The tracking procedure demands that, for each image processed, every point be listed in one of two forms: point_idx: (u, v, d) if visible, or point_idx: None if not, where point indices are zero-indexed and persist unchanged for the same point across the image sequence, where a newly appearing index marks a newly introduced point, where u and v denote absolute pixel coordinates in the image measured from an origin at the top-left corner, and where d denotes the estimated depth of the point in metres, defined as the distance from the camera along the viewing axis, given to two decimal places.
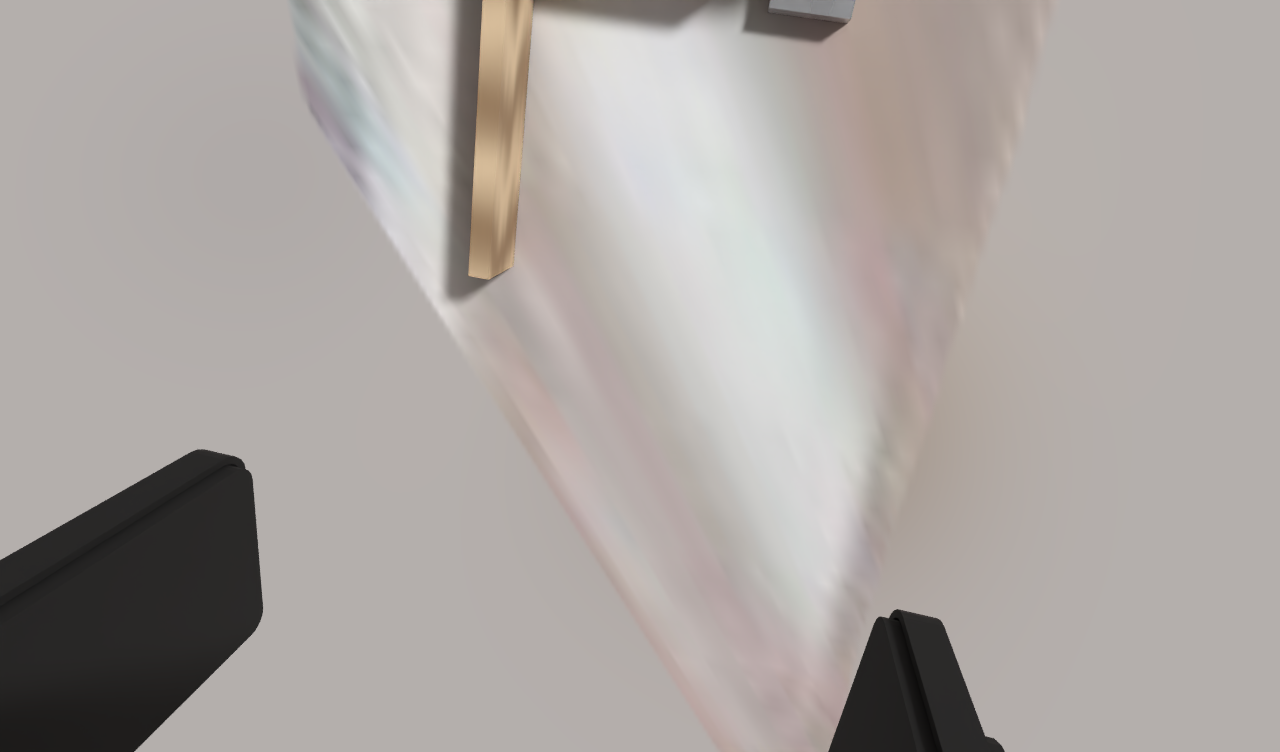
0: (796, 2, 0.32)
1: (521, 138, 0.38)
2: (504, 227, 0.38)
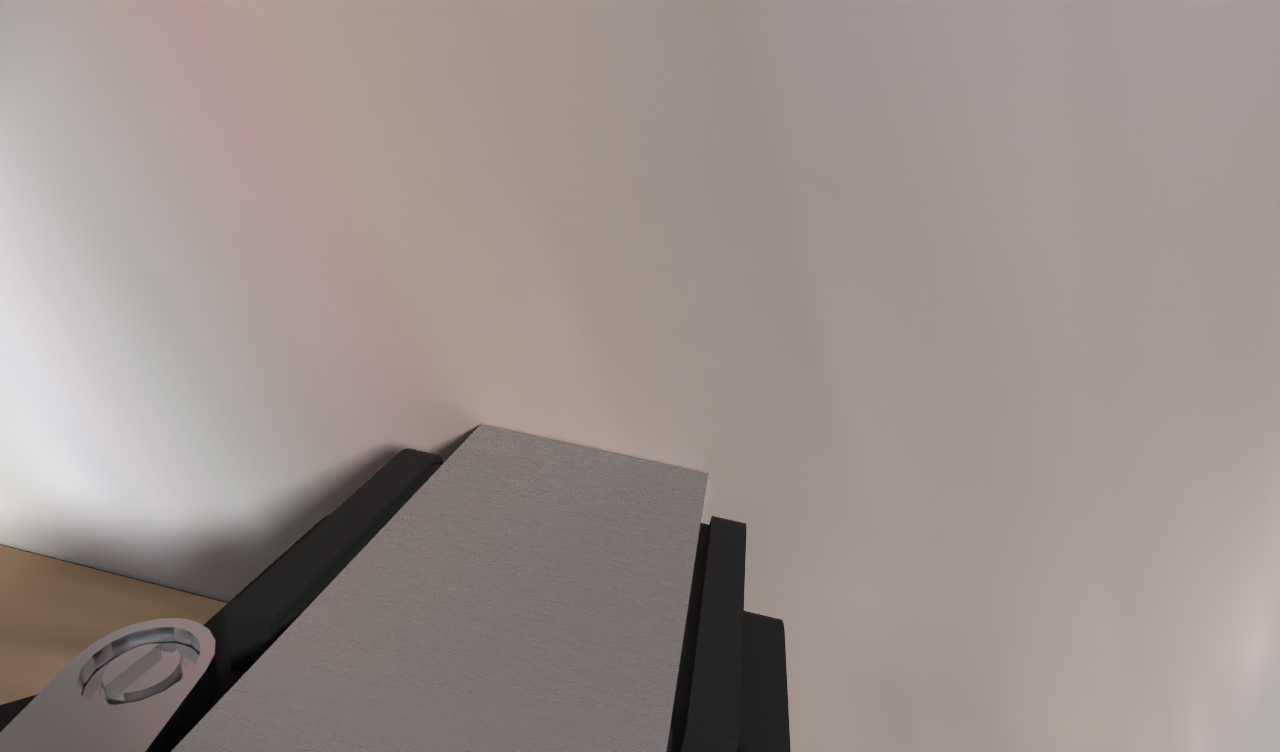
0: None
1: None
2: None
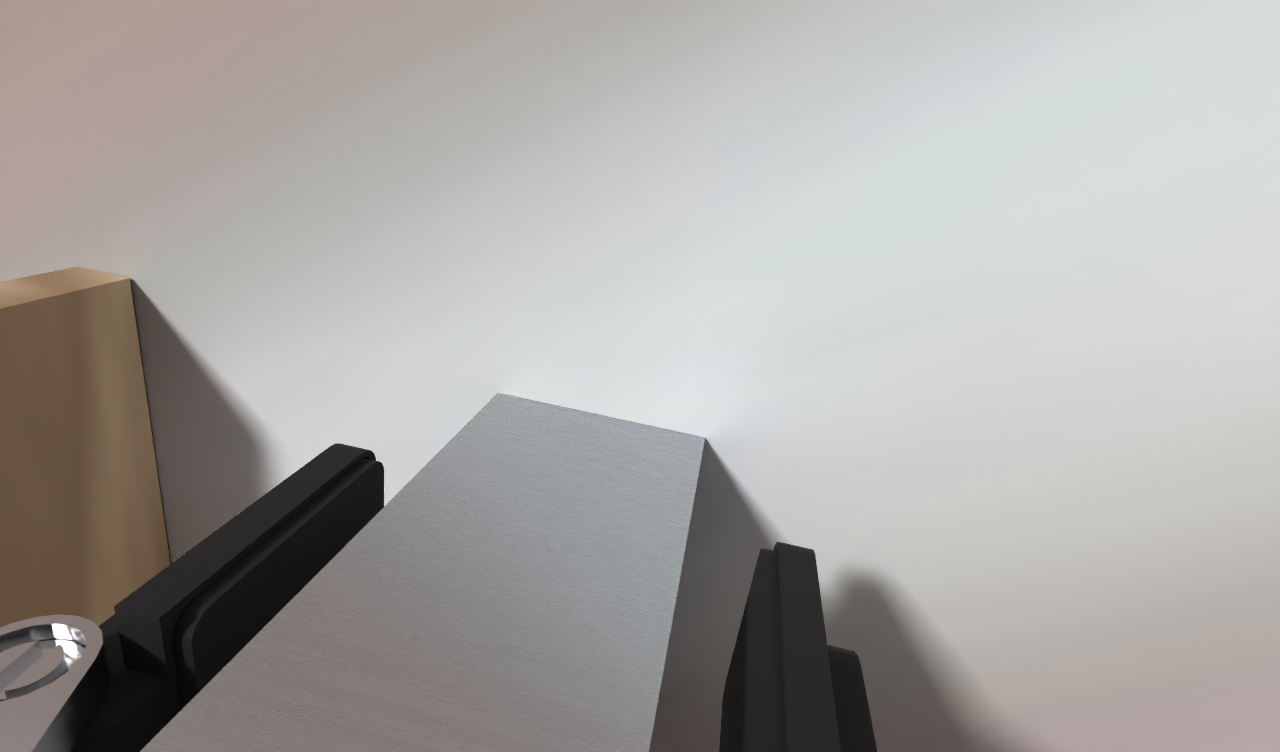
0: None
1: None
2: None
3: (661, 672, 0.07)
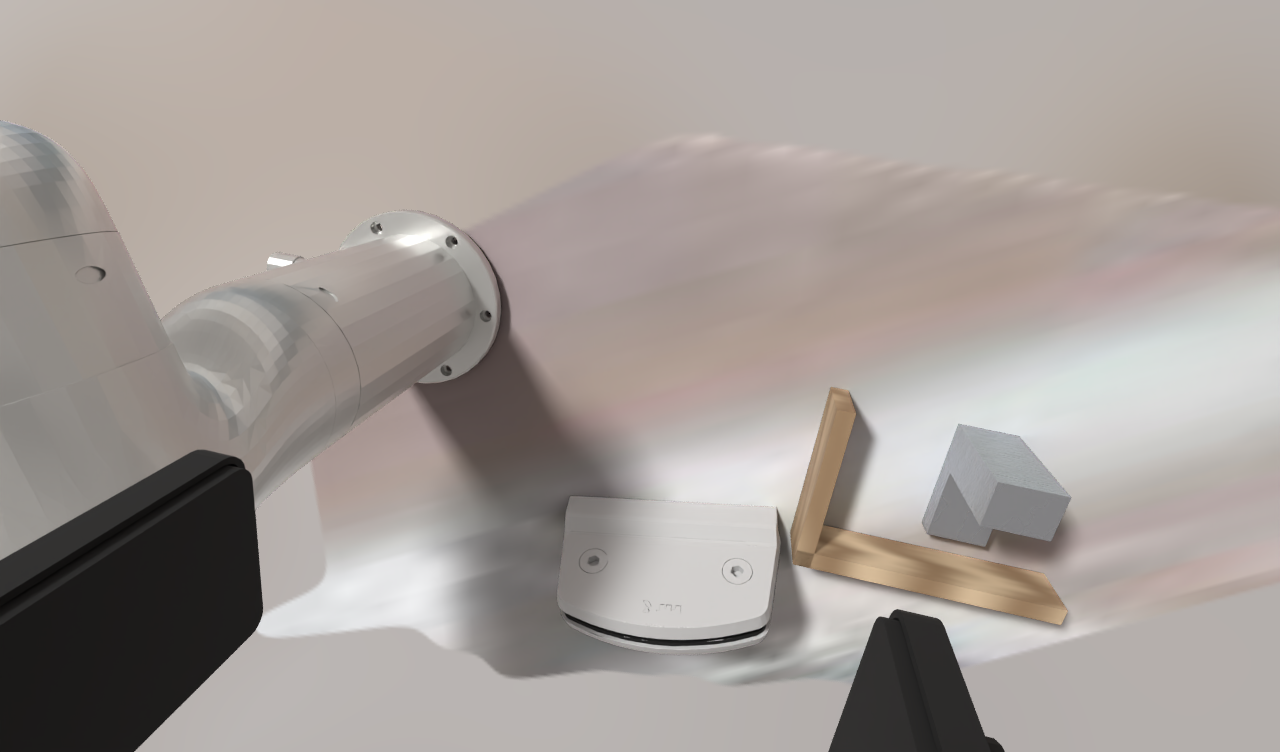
0: (946, 533, 0.46)
1: (938, 552, 0.48)
2: (1015, 583, 0.46)
3: (1053, 477, 0.39)
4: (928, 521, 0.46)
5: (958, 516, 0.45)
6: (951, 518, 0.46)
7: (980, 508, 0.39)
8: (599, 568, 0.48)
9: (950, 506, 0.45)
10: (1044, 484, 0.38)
